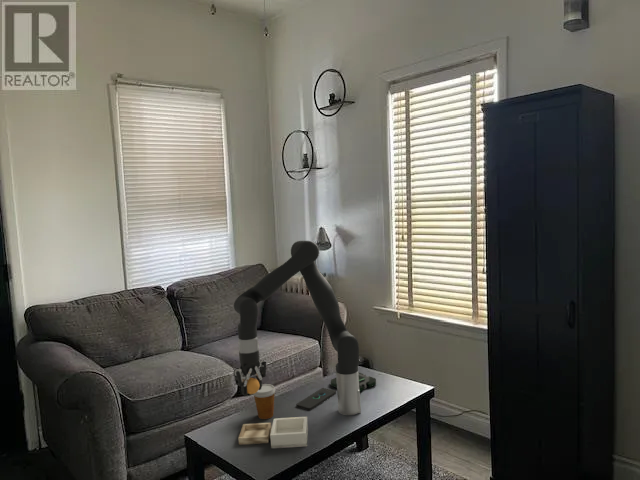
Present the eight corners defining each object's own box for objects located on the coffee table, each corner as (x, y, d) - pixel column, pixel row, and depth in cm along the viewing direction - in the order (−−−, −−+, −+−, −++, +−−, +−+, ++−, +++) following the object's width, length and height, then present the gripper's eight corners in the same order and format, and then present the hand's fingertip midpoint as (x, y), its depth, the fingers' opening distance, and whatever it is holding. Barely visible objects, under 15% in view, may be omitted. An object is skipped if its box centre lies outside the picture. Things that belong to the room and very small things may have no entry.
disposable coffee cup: (273, 421, 196) (271, 393, 195) (251, 420, 198) (249, 392, 197) (280, 410, 206) (278, 383, 204) (258, 410, 208) (256, 383, 206)
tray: (271, 428, 190) (270, 422, 190) (268, 442, 179) (267, 436, 179) (243, 430, 191) (243, 424, 190) (238, 444, 180) (238, 438, 179)
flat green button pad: (354, 375, 241) (353, 366, 240) (380, 385, 227) (380, 375, 226) (326, 386, 230) (326, 376, 229) (352, 397, 216) (352, 387, 215)
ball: (261, 389, 186) (259, 374, 186) (259, 396, 180) (257, 380, 180) (245, 390, 186) (244, 375, 186) (243, 397, 180) (241, 381, 180)
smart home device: (337, 390, 220) (310, 408, 204) (337, 394, 220) (310, 412, 204) (322, 387, 225) (295, 404, 209) (322, 390, 225) (295, 407, 209)
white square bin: (307, 428, 188) (307, 416, 188) (306, 446, 175) (306, 433, 175) (274, 430, 188) (273, 418, 188) (271, 448, 175) (270, 435, 175)
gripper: (257, 342, 189) (260, 383, 191) (227, 352, 179) (230, 396, 181) (269, 345, 184) (273, 388, 186) (238, 356, 174) (242, 401, 175)
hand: (252, 392), depth 183 cm, fingers closed on ball, 6 cm apart
